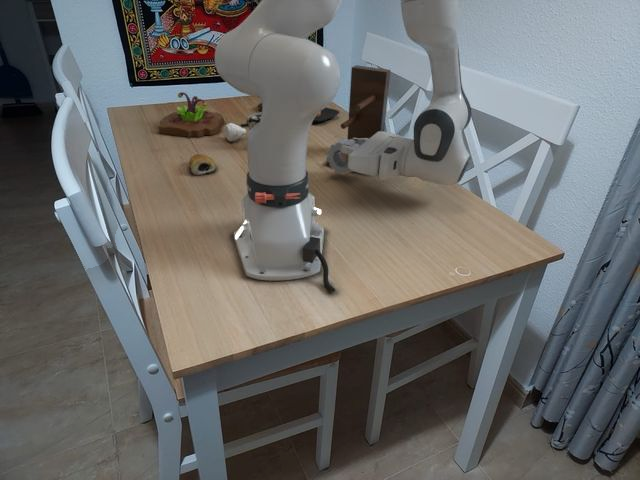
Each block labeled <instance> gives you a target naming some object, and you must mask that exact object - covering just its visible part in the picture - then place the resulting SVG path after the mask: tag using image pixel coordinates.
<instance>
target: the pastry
mask: <svg viewBox="0 0 640 480" xmlns="http://www.w3.org/2000/svg"><path fill="white" fill-rule="evenodd" d="M188 166H189V168H190V172H191V173H192V174H193V175H195V176H200V175H201V176H202V175H204V174H209V173H212V172H215V170H216V167H217V164H216V161H214V159H213V158H212V157H211V156H209V155H207V154H198V153H197V154H194V155H193V156H191V157H190V159H189V161H188Z"/></svg>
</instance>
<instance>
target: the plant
mask: <svg viewBox="0 0 640 480" xmlns="http://www.w3.org/2000/svg"><path fill="white" fill-rule="evenodd" d="M184 96H185V98H186V101H187V105H183V107H180V106H176V109H177V110H178V111H173V112H171V113H170V114H168V115H165V116H164V117H163V118H162V119H160V121H159V123H160V125H159V127H158V128H159V133H160V134H161V135H162V134H163V135H168V136H169V135H170V136H171V135H172V136H177V137H187V138H191V137H193V138H202V137H203V136H213V135H216V134H218V133H219V132H220V128H221V126H222V125H224V123H225V119H224V116H223V115H222V114H221V113H219V112H218V111H217V112H213V111H210V110H207V109H208V108H207V102H206V101H205V100H204V99H202V98H199V97H198V96H196V95H194V96H193V97H192V98H191V99H190V97H189V95H188V94H187V93H186V92H182V91H180V92H179V93H178V94H177V97H178V98H180V99H181V98H183V97H184ZM198 102H201V103H202V106H203V107H202V108H201V109H200V105H197V104H198Z"/></svg>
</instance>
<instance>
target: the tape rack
mask: <svg viewBox="0 0 640 480" xmlns="http://www.w3.org/2000/svg"><path fill="white" fill-rule="evenodd" d="M390 78H391V69H387V68H379V67H371V66H365V65H359V64H358V65H354V66H352V67H351V71H350V87H349V88H350V90H349V106H348V119H346V120H345V121H344V122H342V123H341V124H340V128H341V129H342V130H345V129H347V137H346V138H347V139H348V140H350V139H352V138H358V139H359V138H371V137H372V136H373V135H374V134H376V133H377V132H378V131H385V127H386V117H387V108H388V98H389V89H390V81H391V79H390ZM348 156H349V155H347V154H345V153H342V152H341V150H340V157H341V158H342V159H343V161H346V162H347V163H348ZM326 166H328V167H330V163H329V162H328V161H327V160H326ZM352 172H353V173H355V172H354V171H352ZM356 173H357V174H359V173H358V172H356Z"/></svg>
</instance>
